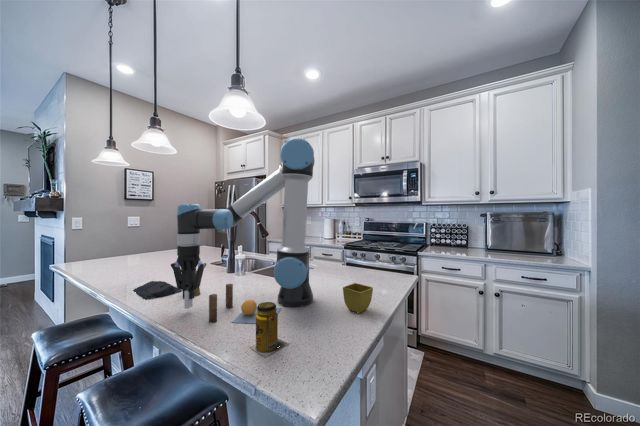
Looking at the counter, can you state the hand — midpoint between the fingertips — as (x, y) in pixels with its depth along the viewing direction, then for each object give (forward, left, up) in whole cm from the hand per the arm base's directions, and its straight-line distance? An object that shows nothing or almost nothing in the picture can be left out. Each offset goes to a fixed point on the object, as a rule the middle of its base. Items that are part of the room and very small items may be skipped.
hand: (188, 307), depth 93 cm
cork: (+10, -19, -2) cm, 22 cm away
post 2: (-13, -6, -2) cm, 15 cm away
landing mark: (-27, 0, -2) cm, 27 cm away
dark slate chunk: (+30, -22, -3) cm, 37 cm away
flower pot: (-64, -8, -2) cm, 65 cm away
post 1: (-13, +6, -2) cm, 15 cm away
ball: (-23, 0, +1) cm, 24 cm away
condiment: (-37, +20, -2) cm, 42 cm away
